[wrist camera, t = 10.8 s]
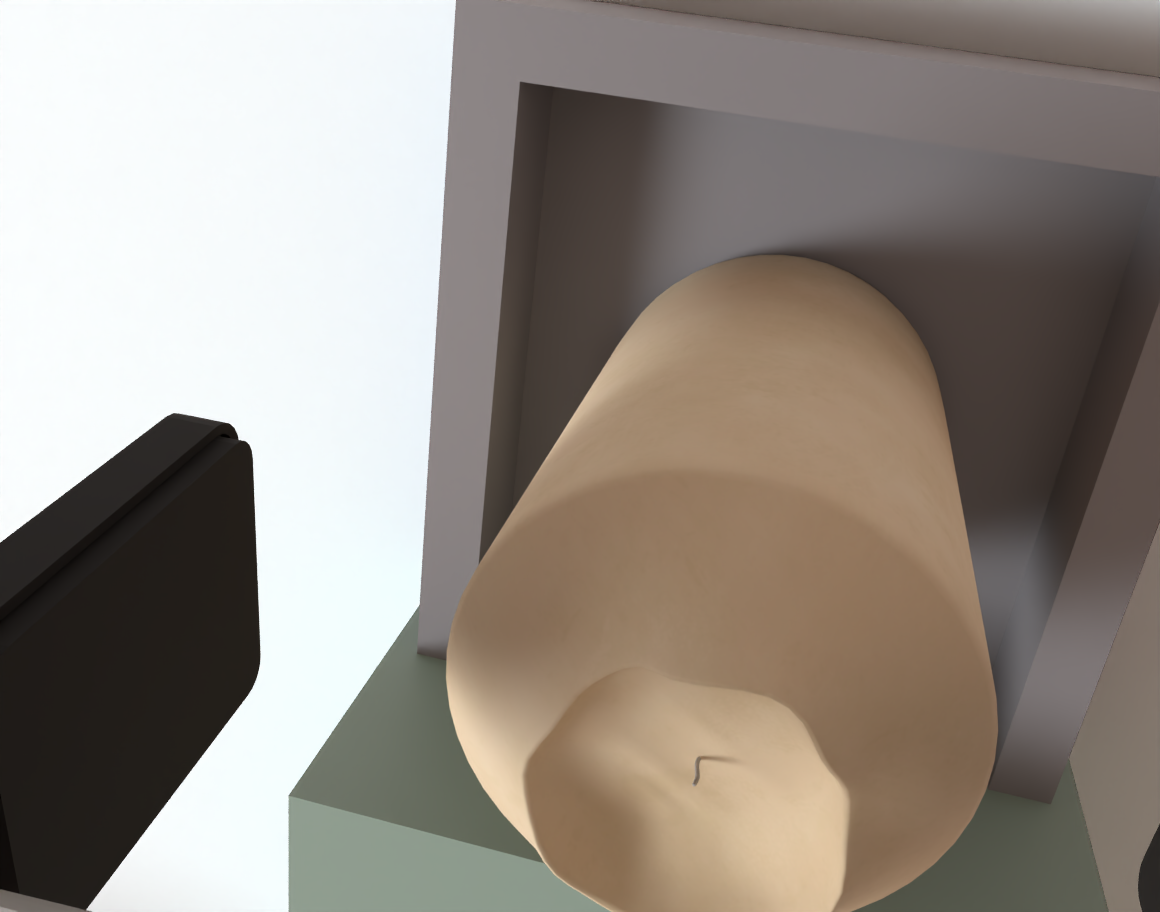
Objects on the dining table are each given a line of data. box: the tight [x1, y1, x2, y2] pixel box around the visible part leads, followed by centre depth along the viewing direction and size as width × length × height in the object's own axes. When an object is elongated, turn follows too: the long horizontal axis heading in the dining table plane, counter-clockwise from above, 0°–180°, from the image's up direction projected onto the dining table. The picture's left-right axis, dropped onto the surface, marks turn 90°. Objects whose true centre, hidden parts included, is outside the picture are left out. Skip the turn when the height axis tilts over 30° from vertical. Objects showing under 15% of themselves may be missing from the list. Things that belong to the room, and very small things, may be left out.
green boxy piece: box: [289, 0, 1160, 912], centre depth 19 cm, size 25×12×7 cm, turn 173°
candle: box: [446, 255, 998, 912], centre depth 14 cm, size 6×6×10 cm
